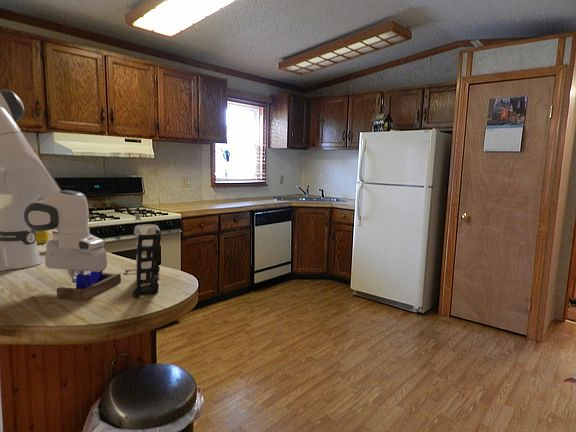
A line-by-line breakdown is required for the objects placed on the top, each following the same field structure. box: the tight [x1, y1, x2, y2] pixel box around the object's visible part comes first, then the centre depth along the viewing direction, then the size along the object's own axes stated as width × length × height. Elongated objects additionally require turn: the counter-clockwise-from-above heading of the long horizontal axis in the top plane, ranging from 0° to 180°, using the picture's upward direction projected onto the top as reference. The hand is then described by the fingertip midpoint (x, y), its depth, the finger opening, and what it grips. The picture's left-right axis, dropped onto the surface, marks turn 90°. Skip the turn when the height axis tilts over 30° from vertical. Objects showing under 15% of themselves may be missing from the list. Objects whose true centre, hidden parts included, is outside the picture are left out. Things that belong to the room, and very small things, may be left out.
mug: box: [35, 231, 50, 245], centre depth 190 cm, size 13×11×12 cm
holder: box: [132, 229, 162, 299], centre depth 122 cm, size 11×8×20 cm
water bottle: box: [133, 211, 161, 282], centre depth 135 cm, size 8×9×25 cm
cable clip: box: [75, 270, 104, 289], centre depth 126 cm, size 12×4×6 cm, turn 3°
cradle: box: [56, 272, 122, 302], centre depth 125 cm, size 10×18×3 cm, turn 170°
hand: (76, 282), depth 125 cm, fingers closed
